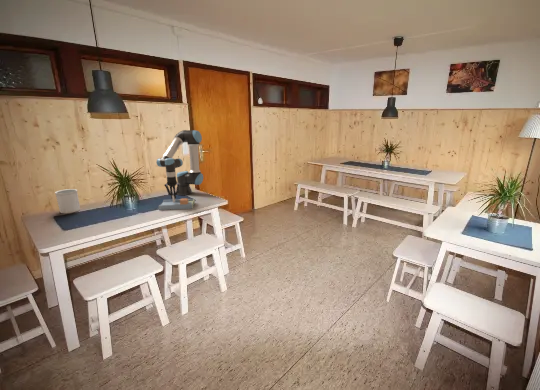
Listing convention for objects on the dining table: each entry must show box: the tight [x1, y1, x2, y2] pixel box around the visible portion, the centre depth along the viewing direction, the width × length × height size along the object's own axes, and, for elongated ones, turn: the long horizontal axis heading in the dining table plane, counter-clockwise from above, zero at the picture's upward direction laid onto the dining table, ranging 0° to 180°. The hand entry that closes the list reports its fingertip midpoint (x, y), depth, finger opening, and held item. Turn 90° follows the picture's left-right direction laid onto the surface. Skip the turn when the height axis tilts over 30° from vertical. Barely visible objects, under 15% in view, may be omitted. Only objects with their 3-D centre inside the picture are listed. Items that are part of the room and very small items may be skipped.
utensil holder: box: [54, 188, 81, 214], centre depth 219 cm, size 15×15×18 cm
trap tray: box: [158, 198, 196, 211], centre depth 233 cm, size 16×28×4 cm, turn 97°
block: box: [180, 197, 189, 205], centre depth 233 cm, size 6×6×4 cm
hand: (174, 202), depth 232 cm, fingers closed
